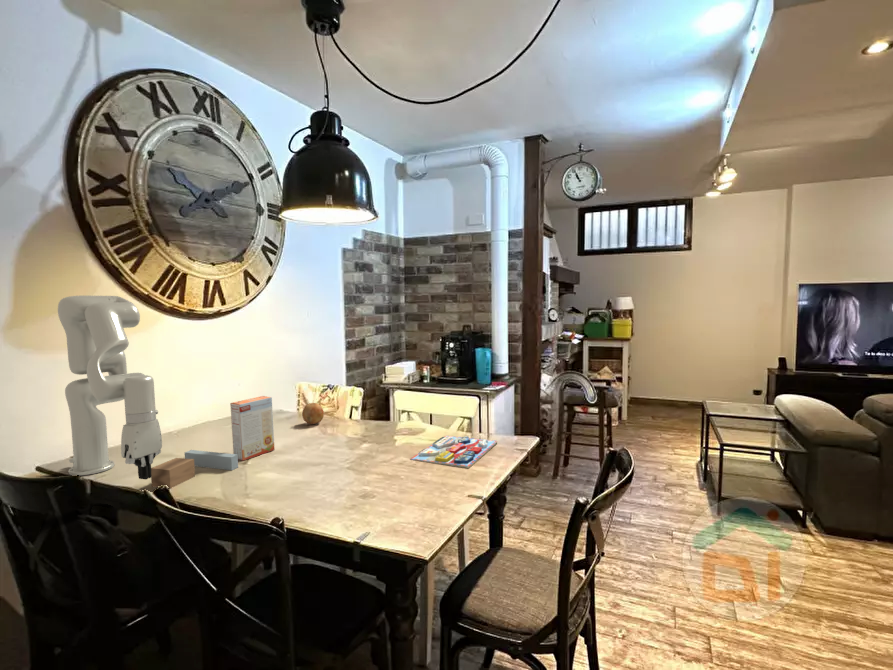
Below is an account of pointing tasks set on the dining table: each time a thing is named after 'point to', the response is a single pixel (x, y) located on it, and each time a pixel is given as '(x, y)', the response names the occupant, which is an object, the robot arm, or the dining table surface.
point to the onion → (313, 413)
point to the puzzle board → (455, 451)
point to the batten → (213, 459)
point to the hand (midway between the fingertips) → (145, 478)
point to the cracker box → (252, 427)
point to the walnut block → (173, 472)
